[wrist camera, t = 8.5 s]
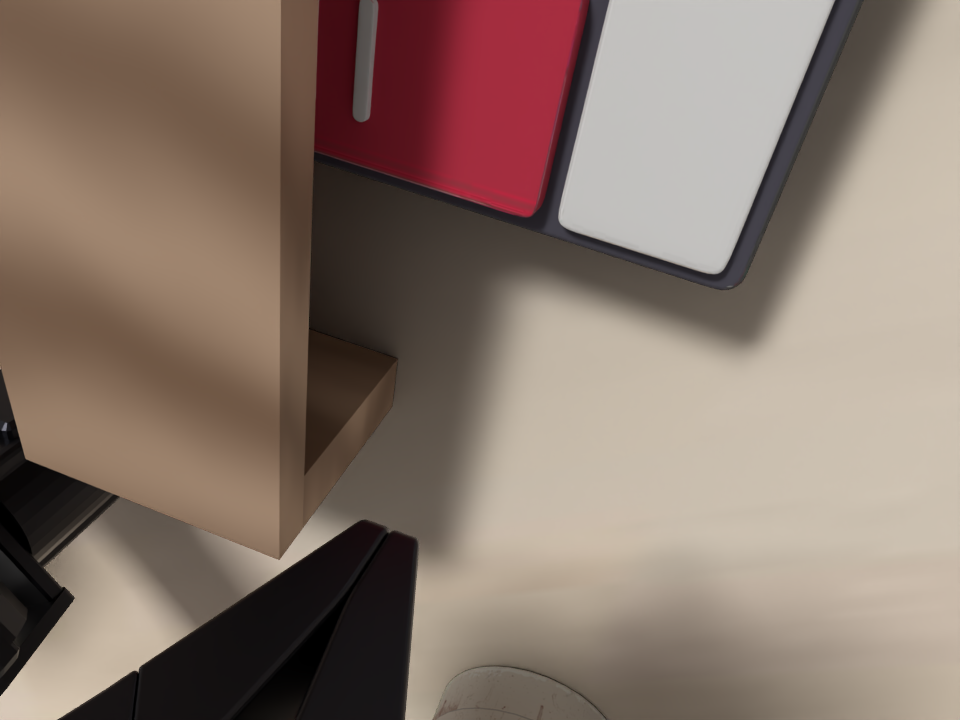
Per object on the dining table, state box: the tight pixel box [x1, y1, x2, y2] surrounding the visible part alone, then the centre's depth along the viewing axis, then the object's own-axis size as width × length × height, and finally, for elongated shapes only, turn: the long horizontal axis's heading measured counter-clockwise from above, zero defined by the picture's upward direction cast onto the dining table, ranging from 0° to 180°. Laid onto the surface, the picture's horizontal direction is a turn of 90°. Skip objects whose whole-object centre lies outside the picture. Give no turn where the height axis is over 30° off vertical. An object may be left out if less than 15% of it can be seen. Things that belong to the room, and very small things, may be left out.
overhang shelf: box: [0, 0, 398, 560], centre depth 16 cm, size 22×8×7 cm, turn 171°
